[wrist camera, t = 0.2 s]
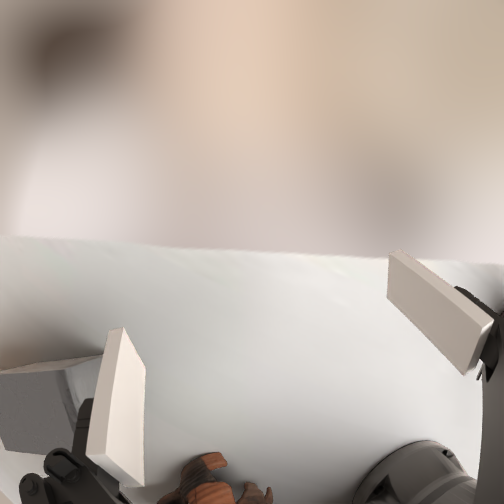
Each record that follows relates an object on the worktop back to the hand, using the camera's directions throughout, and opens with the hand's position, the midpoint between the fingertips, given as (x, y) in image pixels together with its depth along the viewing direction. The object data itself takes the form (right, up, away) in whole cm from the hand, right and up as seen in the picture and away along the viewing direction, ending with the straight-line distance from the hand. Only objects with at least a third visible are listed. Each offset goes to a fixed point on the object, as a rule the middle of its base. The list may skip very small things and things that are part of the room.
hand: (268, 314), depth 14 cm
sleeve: (-19, -12, +12) cm, 25 cm away
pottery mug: (-5, -23, +12) cm, 26 cm away
